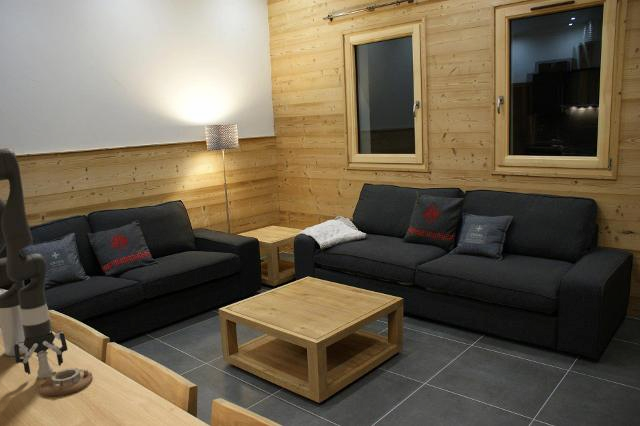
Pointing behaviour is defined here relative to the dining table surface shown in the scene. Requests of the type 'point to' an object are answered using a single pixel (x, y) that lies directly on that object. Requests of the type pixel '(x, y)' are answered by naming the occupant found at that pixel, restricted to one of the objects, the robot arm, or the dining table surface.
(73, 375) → the carrier disc
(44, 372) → the rook chess piece
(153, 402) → the dining table surface
